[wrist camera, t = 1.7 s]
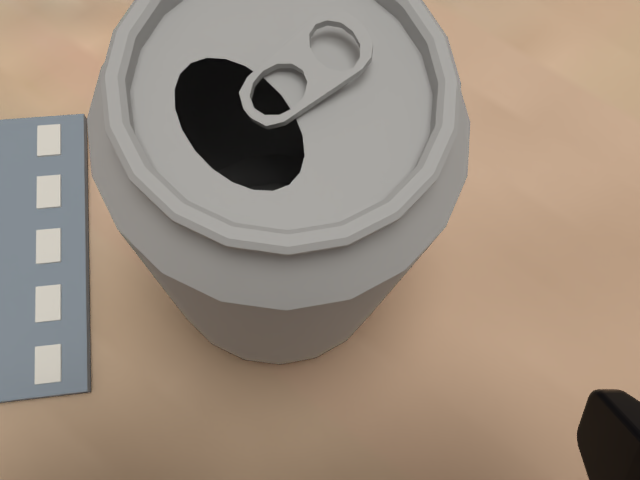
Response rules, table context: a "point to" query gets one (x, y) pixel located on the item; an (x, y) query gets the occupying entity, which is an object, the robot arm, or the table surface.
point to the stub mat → (44, 258)
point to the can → (278, 159)
